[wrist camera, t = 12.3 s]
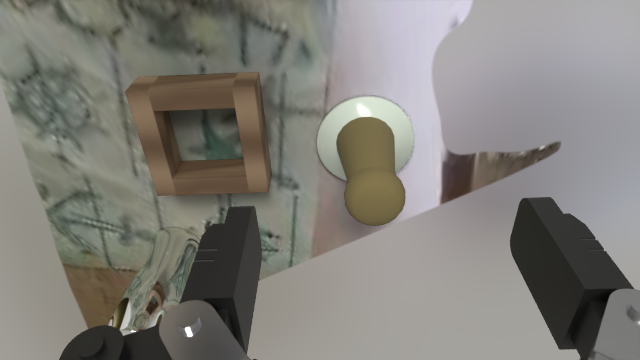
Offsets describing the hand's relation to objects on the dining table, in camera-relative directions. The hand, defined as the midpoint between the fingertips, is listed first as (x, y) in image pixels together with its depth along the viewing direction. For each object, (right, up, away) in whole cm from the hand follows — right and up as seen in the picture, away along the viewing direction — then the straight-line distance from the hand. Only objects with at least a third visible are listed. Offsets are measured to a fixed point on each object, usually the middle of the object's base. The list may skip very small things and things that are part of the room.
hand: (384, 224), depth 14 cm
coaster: (+3, +6, +33) cm, 33 cm away
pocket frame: (-13, +7, +32) cm, 35 cm away
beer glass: (-20, -7, +41) cm, 46 cm away
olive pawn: (+3, +5, +32) cm, 33 cm away
